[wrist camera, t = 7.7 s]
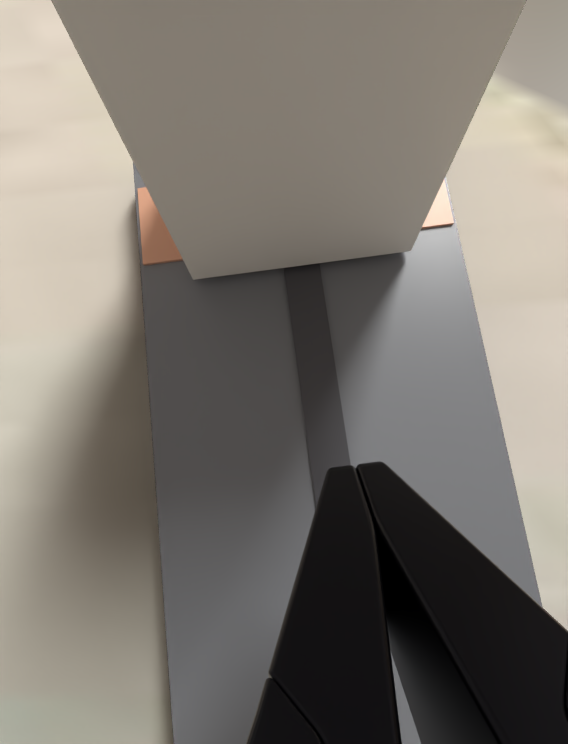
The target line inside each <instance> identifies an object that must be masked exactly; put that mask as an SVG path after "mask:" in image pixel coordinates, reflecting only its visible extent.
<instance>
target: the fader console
mask: <svg viewBox="0 0 568 744" xmlns="http://www.w3.org/2000/svg"><path fill="white" fill-rule="evenodd" d="M133 168H134V182H135V197H136V211H137V225H138V240H139V254H140V268H141V283H142V297H143V311H144V325H145V340H146V354H147V368H148V383H149V397H150V411H151V426H152V440H153V454H154V469H155V483H156V497H157V511H158V526H159V540H160V554H161V569H162V583H163V597H164V612H165V626H166V640H167V654H168V669H169V683H170V697H171V712H172V726H173V740H174V744H246V741H247V738H248V735H249V732H250V729H251V726H252V723H253V720H254V717H255V714H256V711H257V707H258V704H259V700H260V697H261V694H262V690H263V687H264V683H265V680H266V679H267V678H269V675H268V671H269V667H270V664H271V661H272V657H273V654H274V650H275V647H276V644H277V640H278V637H279V633H280V630H281V626H282V623H283V620H284V616H285V613H286V609H287V606H288V602H289V599H290V596H291V592H292V589H293V585H294V582H295V578H296V575H297V572H298V568H299V565H300V561H301V558H302V554H303V551H304V548H305V544H306V541H307V537H308V534H309V530H310V527H311V524H312V520H313V517H314V513H315V510H316V506H317V503H318V500H319V496H320V493H321V489H322V486H323V482H324V479H325V476H326V472H327V470H328V469H329V468H332V467H339V466H347V465H352V466H354V467H355V468H356V467H357V465H358V464H362V463H370V462H377V461H381V462H384V463H386V464H387V465H388V466H389V467H390V468H391V469H392V470H393V471H394V472H395V473H397V474H398V475H399V476H400V477H401V478H402V479H403V480H404V481H405V482H406V483H407V484H409V485H410V486H411V487H412V488H413V489H414V490H415V491H416V492H417V493H418V494H419V495H420V496H422V497H423V498H424V499H425V500H426V501H427V502H428V503H429V504H430V505H431V506H432V507H434V508H435V509H436V510H437V511H438V512H439V513H440V514H441V515H442V516H443V517H444V518H445V519H447V520H448V521H449V522H450V523H451V524H452V525H453V526H454V527H455V528H456V529H457V530H459V531H460V532H461V533H462V534H463V535H464V536H465V537H466V538H467V539H468V540H469V541H471V542H472V543H473V544H474V545H475V546H476V547H477V548H478V549H479V550H480V551H481V552H482V553H484V554H485V555H486V556H487V557H488V558H489V559H490V560H491V561H492V562H493V563H494V564H496V565H497V566H498V567H499V568H500V569H501V570H502V571H503V572H504V573H505V574H506V575H508V576H509V577H510V578H511V579H512V580H513V581H514V582H515V583H516V584H517V585H518V586H519V587H521V588H522V589H523V590H524V591H525V592H526V593H527V594H528V595H529V596H530V597H531V598H533V599H534V600H535V601H536V602H537V603H538V604H539V605H540V606H541V607H542V603H541V599H540V594H539V590H538V585H537V581H536V576H535V572H534V567H533V563H532V559H531V554H530V550H529V545H528V541H527V536H526V532H525V527H524V523H523V518H522V514H521V510H520V505H519V501H518V496H517V492H516V487H515V483H514V478H513V474H512V469H511V465H510V461H509V456H508V452H507V447H506V443H505V438H504V434H503V429H502V425H501V420H500V416H499V412H498V407H497V403H496V398H495V394H494V389H493V385H492V380H491V376H490V371H489V367H488V363H487V358H486V354H485V349H484V345H483V340H482V336H481V331H480V327H479V322H478V318H477V314H476V309H475V305H474V300H473V296H472V291H471V287H470V282H469V278H468V273H467V269H466V265H465V260H464V256H463V251H462V247H461V242H460V238H459V233H458V229H457V224H456V220H455V216H454V211H453V207H452V202H451V198H450V193H449V189H448V184H447V180H446V176H445V178H444V181H443V183H442V185H441V187H440V189H439V191H438V194H437V196H436V198H435V200H434V202H433V204H432V206H431V209H430V211H429V213H428V215H427V217H426V219H425V222H424V224H423V226H422V228H421V230H420V232H419V235H418V237H417V239H416V241H415V243H414V245H413V248H412V250H411V251H408V252H400V253H393V254H385V255H377V256H370V257H362V258H355V259H347V260H340V261H332V262H324V263H317V264H309V265H302V266H294V267H287V268H279V269H271V270H264V271H256V272H249V273H241V274H234V275H226V276H218V277H211V278H203V279H196V280H193V278H192V276H191V274H190V273H189V271H188V269H187V267H186V265H185V263H184V261H183V259H182V257H181V255H180V253H179V251H178V249H177V247H176V245H175V243H174V241H173V239H172V237H171V235H170V233H169V231H168V229H167V227H166V225H165V223H164V221H163V219H162V217H161V215H160V213H159V211H158V209H157V208H156V206H155V204H154V202H153V200H152V198H151V196H150V194H149V192H148V190H147V188H146V186H145V184H144V182H143V180H142V178H141V176H140V174H139V172H138V170H137V168H136V166H135V164H134V162H133ZM391 658H392V666H393V675H394V683H395V691H396V699H397V708H398V716H399V724H400V733H401V741H402V744H421V742H420V738H419V735H418V732H417V729H416V726H415V723H414V720H413V717H412V714H411V711H410V708H409V705H408V702H407V699H406V696H405V693H404V690H403V687H402V684H401V681H400V678H399V675H398V671H397V668H396V665H395V662H394V659H393V656H392V653H391Z"/></svg>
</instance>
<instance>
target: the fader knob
mask: <svg viewBox="0 0 568 744" xmlns="http://www.w3.org/2000/svg"><path fill="white" fill-rule="evenodd" d="M51 1H52V3H53V5H54V7H55V9H56V11H57V13H58V15H59V16H60V18H61V20H62V22H63V24H64V26H65V28H66V30H67V32H68V34H69V36H70V38H71V40H72V42H73V44H74V46H75V48H76V50H77V52H78V54H79V56H80V58H81V60H82V62H83V64H84V66H85V68H86V70H87V72H88V74H89V76H90V78H91V80H92V81H93V83H94V85H95V87H96V89H97V91H98V93H99V95H100V97H101V99H102V101H103V103H104V105H105V107H106V109H107V111H108V113H109V115H110V117H111V119H112V121H113V123H114V125H115V127H116V129H117V131H118V133H119V135H120V137H121V139H122V141H123V143H124V144H125V146H126V148H127V150H128V152H129V154H130V156H131V158H132V160H133V162H134V164H135V166H136V168H137V170H138V172H139V174H140V176H141V178H142V180H143V182H144V184H145V186H146V188H147V190H148V192H149V194H150V196H151V198H152V200H153V202H154V204H155V206H156V208H157V209H158V211H159V213H160V215H161V217H162V219H163V221H164V223H165V225H166V227H167V229H168V231H169V233H170V235H171V237H172V239H173V241H174V243H175V245H176V247H177V249H178V251H179V253H180V255H181V257H182V259H183V261H184V263H185V265H186V267H187V269H188V271H189V273H190V274H191V276H192V278H193V280H196V279H203V278H211V277H218V276H226V275H234V274H241V273H249V272H256V271H264V270H271V269H279V268H287V267H294V266H302V265H309V264H317V263H324V262H332V261H340V260H347V259H355V258H362V257H370V256H377V255H385V254H393V253H400V252H408V251H411V250H412V248H413V245H414V243H415V241H416V239H417V237H418V235H419V232H420V230H421V228H422V226H423V224H424V222H425V219H426V217H427V215H428V213H429V211H430V209H431V206H432V204H433V202H434V200H435V198H436V196H437V194H438V191H439V189H440V187H441V185H442V183H443V181H444V178H445V176H446V174H447V172H448V170H449V168H450V165H451V163H452V161H453V159H454V157H455V155H456V152H457V150H458V148H459V146H460V144H461V142H462V139H463V137H464V135H465V133H466V131H467V129H468V126H469V124H470V122H471V120H472V118H473V116H474V113H475V111H476V109H477V107H478V105H479V103H480V100H481V98H482V96H483V94H484V92H485V90H486V88H487V85H488V83H489V81H490V79H491V77H492V75H493V72H494V70H495V68H496V66H497V64H498V62H499V59H500V57H501V55H502V53H503V51H504V49H505V46H506V44H507V42H508V40H509V38H510V35H511V33H512V31H513V29H514V27H515V25H516V23H517V20H518V18H519V16H520V14H521V12H522V10H523V7H524V5H525V3H526V1H527V0H51Z"/></svg>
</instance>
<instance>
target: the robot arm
mask: <svg viewBox="0 0 568 744" xmlns="http://www.w3.org/2000/svg"><path fill="white" fill-rule="evenodd" d="M391 653H392V656H393V659H394V662H395V665H396V668H397V671H398V675H399V678H400V681H401V684H402V687H403V690H404V693H405V696H406V699H407V702H408V705H409V708H410V711H411V714H412V717H413V720H414V723H415V726H416V729H417V732H418V735H419V738H420V742H421V744H568V631H567V630H566V629H565V628H564V627H563V626H562V625H561V624H560V623H559V622H558V621H556V620H555V619H554V618H553V617H552V616H551V615H550V614H549V613H548V612H547V611H546V610H544V609H543V608H542V607H541V606H540V605H539V604H538V603H537V602H536V601H535V600H534V599H533V598H531V597H530V596H529V595H528V594H527V593H526V592H525V591H524V590H523V589H522V588H521V587H519V586H518V585H517V584H516V583H515V582H514V581H513V580H512V579H511V578H510V577H509V576H508V575H506V574H505V573H504V572H503V571H502V570H501V569H500V568H499V567H498V566H497V565H496V564H494V563H493V562H492V561H491V560H490V559H489V558H488V557H487V556H486V555H485V554H484V553H482V552H481V551H480V550H479V549H478V548H477V547H476V546H475V545H474V544H473V543H472V542H471V541H469V540H468V539H467V538H466V537H465V536H464V535H463V534H462V533H461V532H460V531H459V530H457V529H456V528H455V527H454V526H453V525H452V524H451V523H450V522H449V521H448V520H447V519H445V518H444V517H443V516H442V515H441V514H440V513H439V512H438V511H437V510H436V509H435V508H434V507H432V506H431V505H430V504H429V503H428V502H427V501H426V500H425V499H424V498H423V497H422V496H420V495H419V494H418V493H417V492H416V491H415V490H414V489H413V488H412V487H411V486H410V485H409V484H407V483H406V482H405V481H404V480H403V479H402V478H401V477H400V476H399V475H398V474H397V473H395V472H394V471H393V470H392V469H391V468H390V467H389V466H388V465H387V464H386V463H384V462H381V461H377V462H370V463H362V464H358V465H357V467H356V468H355V467H354V466H352V465H347V466H339V467H332V468H329V469H328V470H327V472H326V476H325V479H324V482H323V486H322V489H321V493H320V496H319V500H318V503H317V506H316V510H315V513H314V517H313V520H312V524H311V527H310V530H309V534H308V537H307V541H306V544H305V548H304V551H303V554H302V558H301V561H300V565H299V568H298V572H297V575H296V578H295V582H294V585H293V589H292V592H291V596H290V599H289V602H288V606H287V609H286V613H285V616H284V620H283V623H282V626H281V630H280V633H279V637H278V640H277V644H276V647H275V650H274V654H273V657H272V661H271V664H270V667H269V671H268V675H269V678H267V679H266V680H265V683H264V687H263V690H262V694H261V697H260V700H259V704H258V707H257V711H256V714H255V717H254V720H253V723H252V726H251V729H250V732H249V735H248V738H247V741H246V744H402V741H401V733H400V724H399V716H398V708H397V699H396V691H395V683H394V675H393V666H392V658H391Z"/></svg>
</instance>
